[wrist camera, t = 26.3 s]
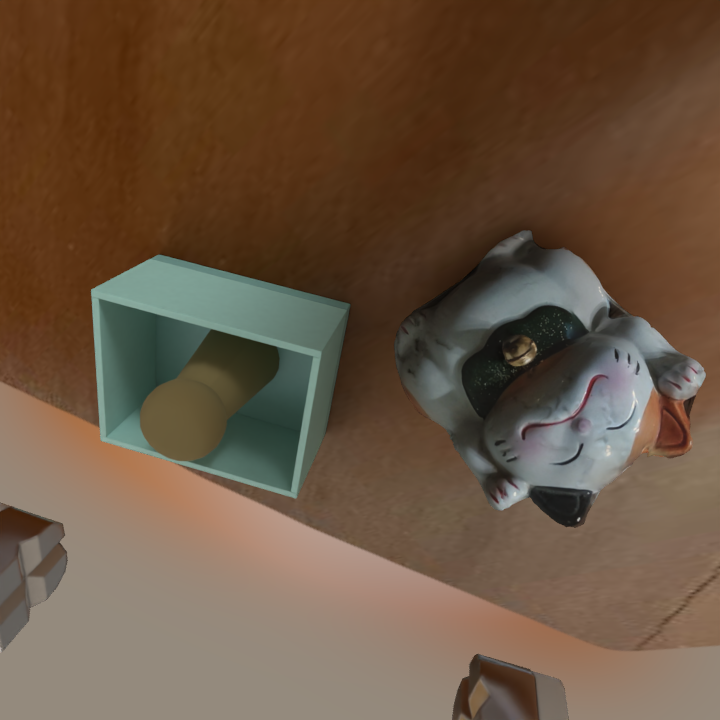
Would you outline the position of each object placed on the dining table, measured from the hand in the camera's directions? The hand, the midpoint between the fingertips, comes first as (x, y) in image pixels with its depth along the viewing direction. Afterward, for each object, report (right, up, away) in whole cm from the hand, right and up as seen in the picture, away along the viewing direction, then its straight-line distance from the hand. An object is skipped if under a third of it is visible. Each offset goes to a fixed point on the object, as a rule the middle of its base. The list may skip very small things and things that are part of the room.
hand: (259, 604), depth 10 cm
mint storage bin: (-7, +9, +26) cm, 28 cm away
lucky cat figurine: (+14, +7, +27) cm, 31 cm away
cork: (-7, +5, +31) cm, 32 cm away
